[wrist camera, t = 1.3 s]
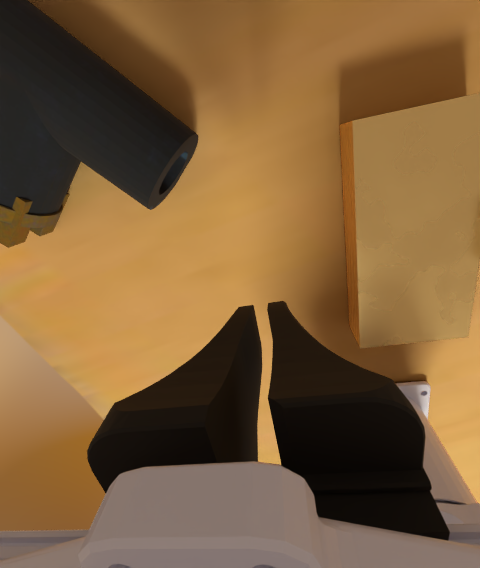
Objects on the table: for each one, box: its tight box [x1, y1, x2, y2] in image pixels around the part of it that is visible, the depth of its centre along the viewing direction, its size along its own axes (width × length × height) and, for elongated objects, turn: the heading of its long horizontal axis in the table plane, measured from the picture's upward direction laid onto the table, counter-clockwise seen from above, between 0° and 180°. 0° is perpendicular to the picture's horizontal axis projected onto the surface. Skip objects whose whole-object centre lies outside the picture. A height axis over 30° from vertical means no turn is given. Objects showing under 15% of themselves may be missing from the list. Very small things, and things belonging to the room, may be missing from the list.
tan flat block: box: [339, 93, 480, 348], centre depth 17 cm, size 14×9×4 cm, turn 11°
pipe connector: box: [0, 0, 198, 248], centre depth 17 cm, size 12×5×15 cm
